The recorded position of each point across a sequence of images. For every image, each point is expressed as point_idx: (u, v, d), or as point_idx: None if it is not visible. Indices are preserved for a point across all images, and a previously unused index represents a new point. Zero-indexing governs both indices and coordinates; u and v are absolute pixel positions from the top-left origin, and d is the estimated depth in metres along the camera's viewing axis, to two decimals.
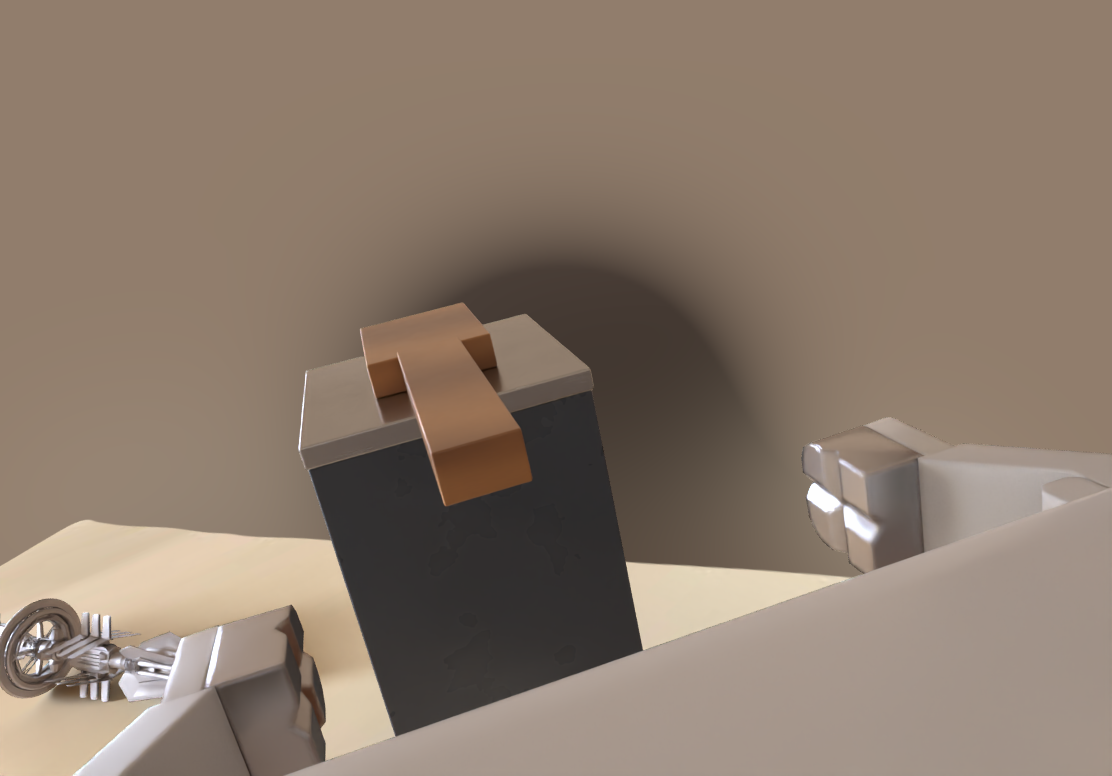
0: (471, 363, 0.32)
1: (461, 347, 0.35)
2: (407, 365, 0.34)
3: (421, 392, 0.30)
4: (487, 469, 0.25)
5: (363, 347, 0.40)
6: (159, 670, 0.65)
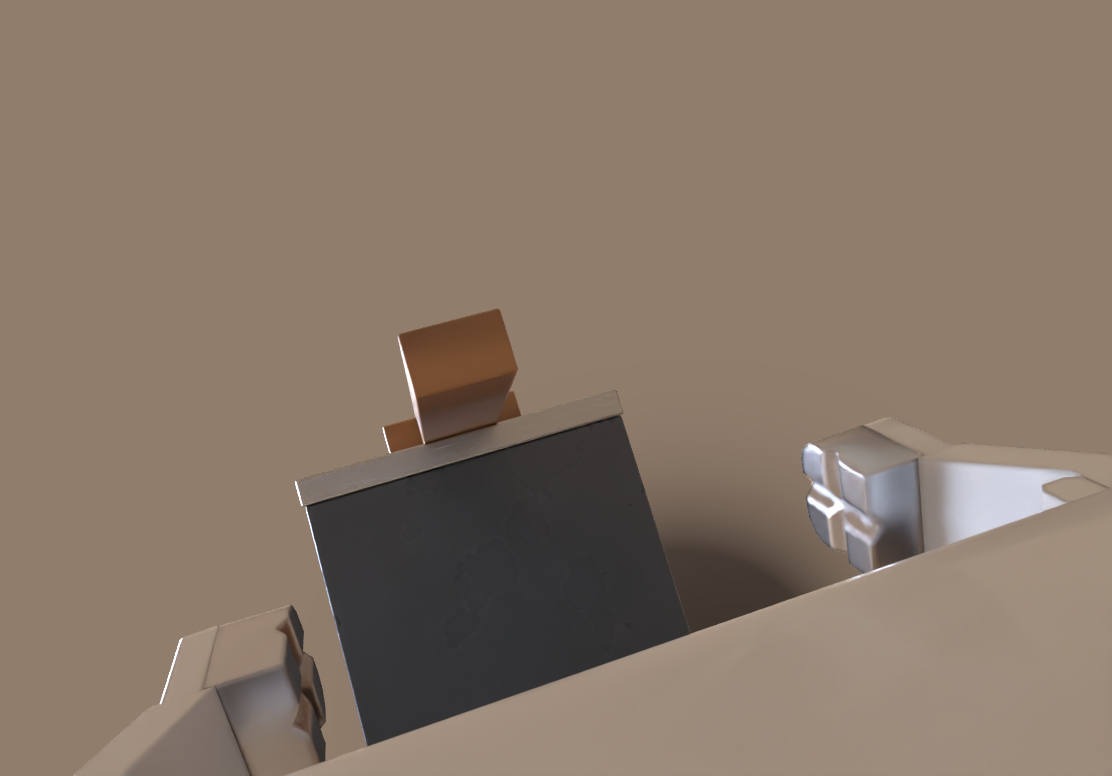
0: None
1: None
2: None
3: None
4: (463, 354, 0.22)
5: None
6: None
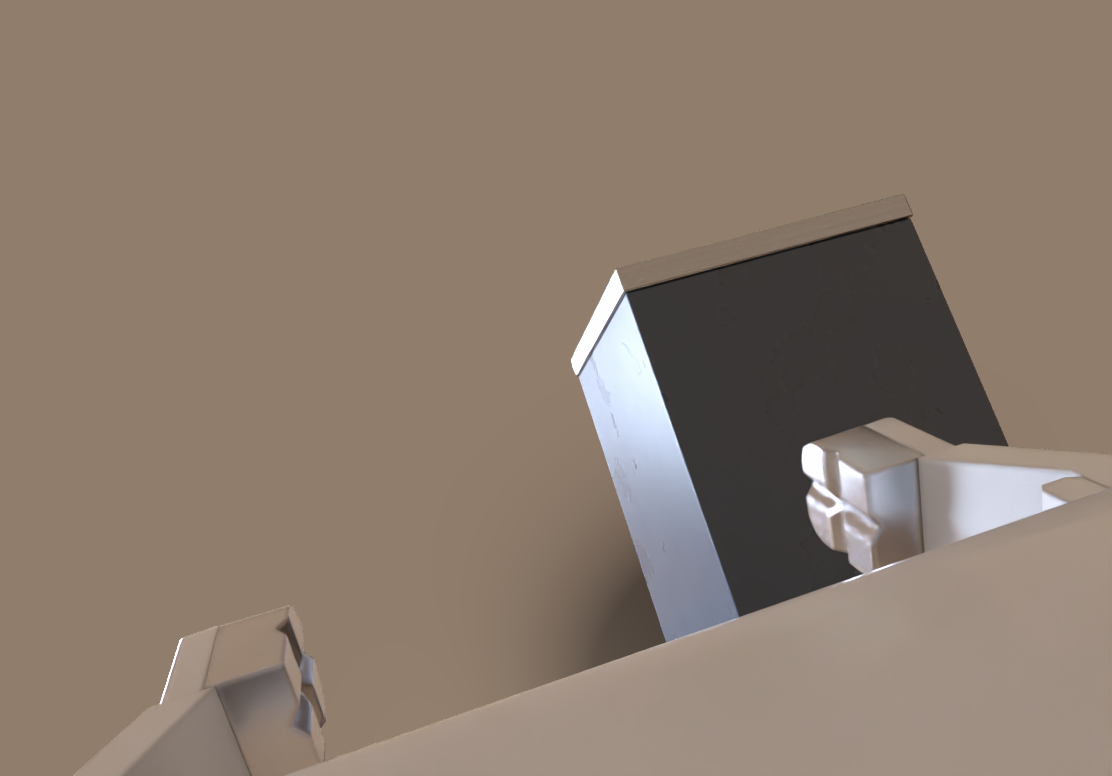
0: None
1: None
2: None
3: None
4: None
5: None
6: None
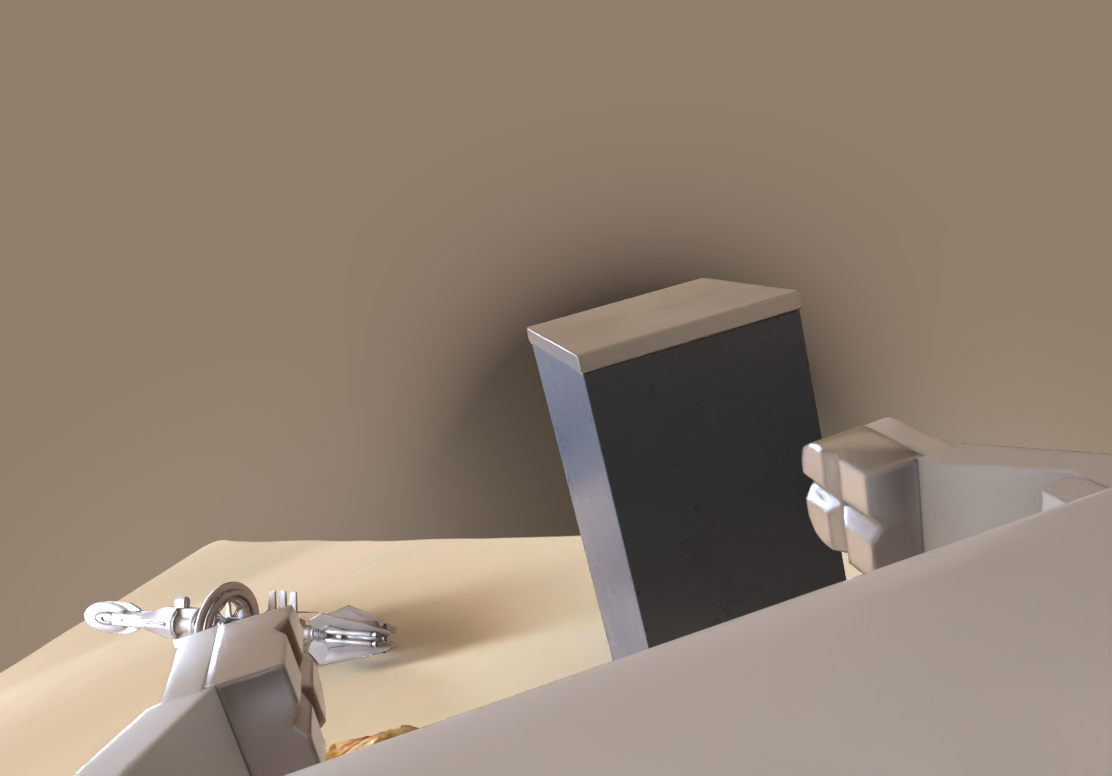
0: None
1: None
2: None
3: None
4: None
5: None
6: (345, 637, 0.71)
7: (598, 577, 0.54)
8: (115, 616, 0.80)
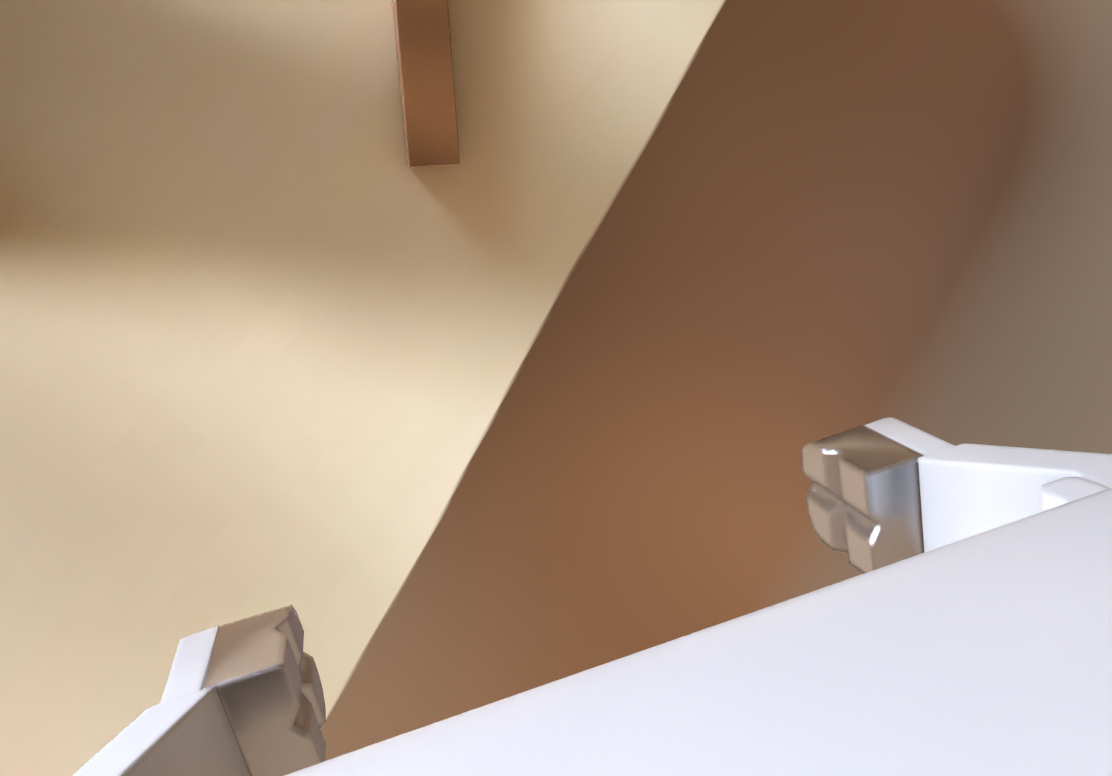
0: (444, 7, 0.45)
1: None
2: None
3: (406, 47, 0.45)
4: None
5: None
6: None
7: None
8: None
